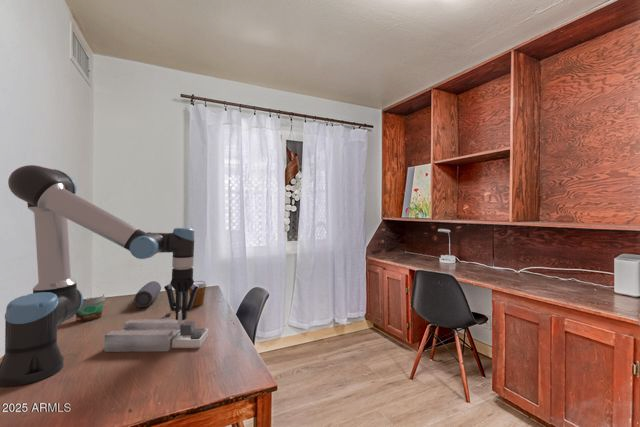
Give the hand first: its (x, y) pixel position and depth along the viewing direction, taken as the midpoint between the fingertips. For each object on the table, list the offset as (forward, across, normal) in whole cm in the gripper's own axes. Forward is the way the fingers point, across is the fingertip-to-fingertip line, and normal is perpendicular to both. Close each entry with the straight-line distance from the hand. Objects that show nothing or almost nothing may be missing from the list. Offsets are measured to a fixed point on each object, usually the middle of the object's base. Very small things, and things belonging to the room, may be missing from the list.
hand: (180, 328), depth 118 cm
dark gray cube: (+2, -3, 0) cm, 3 cm away
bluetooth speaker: (+6, +36, -51) cm, 63 cm away
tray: (+5, -4, 0) cm, 7 cm away
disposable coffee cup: (+6, +9, -48) cm, 49 cm away
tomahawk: (+6, +18, -21) cm, 28 cm away
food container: (+6, +49, -25) cm, 56 cm away
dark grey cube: (+3, -5, 0) cm, 5 cm away
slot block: (+6, +12, 0) cm, 13 cm away
